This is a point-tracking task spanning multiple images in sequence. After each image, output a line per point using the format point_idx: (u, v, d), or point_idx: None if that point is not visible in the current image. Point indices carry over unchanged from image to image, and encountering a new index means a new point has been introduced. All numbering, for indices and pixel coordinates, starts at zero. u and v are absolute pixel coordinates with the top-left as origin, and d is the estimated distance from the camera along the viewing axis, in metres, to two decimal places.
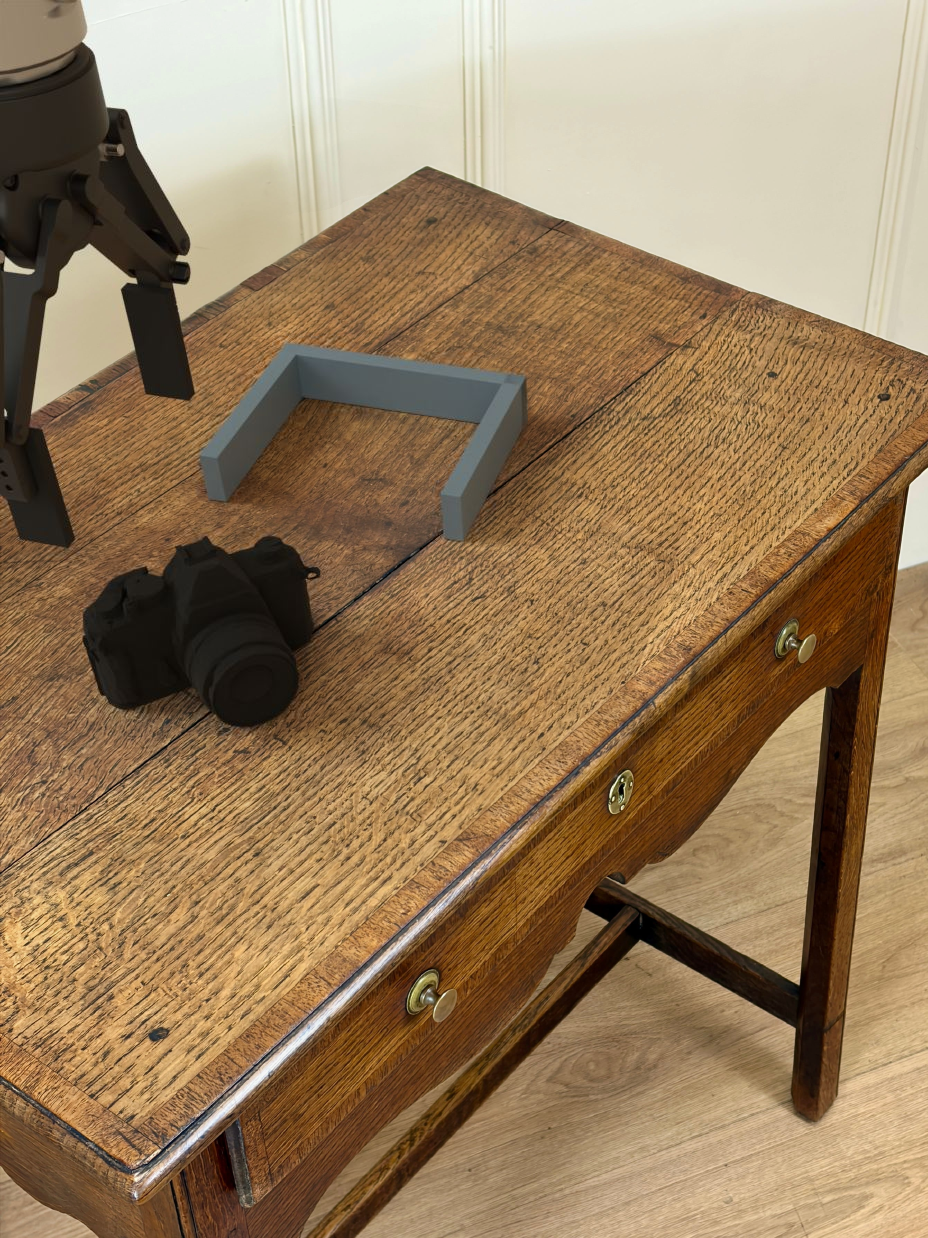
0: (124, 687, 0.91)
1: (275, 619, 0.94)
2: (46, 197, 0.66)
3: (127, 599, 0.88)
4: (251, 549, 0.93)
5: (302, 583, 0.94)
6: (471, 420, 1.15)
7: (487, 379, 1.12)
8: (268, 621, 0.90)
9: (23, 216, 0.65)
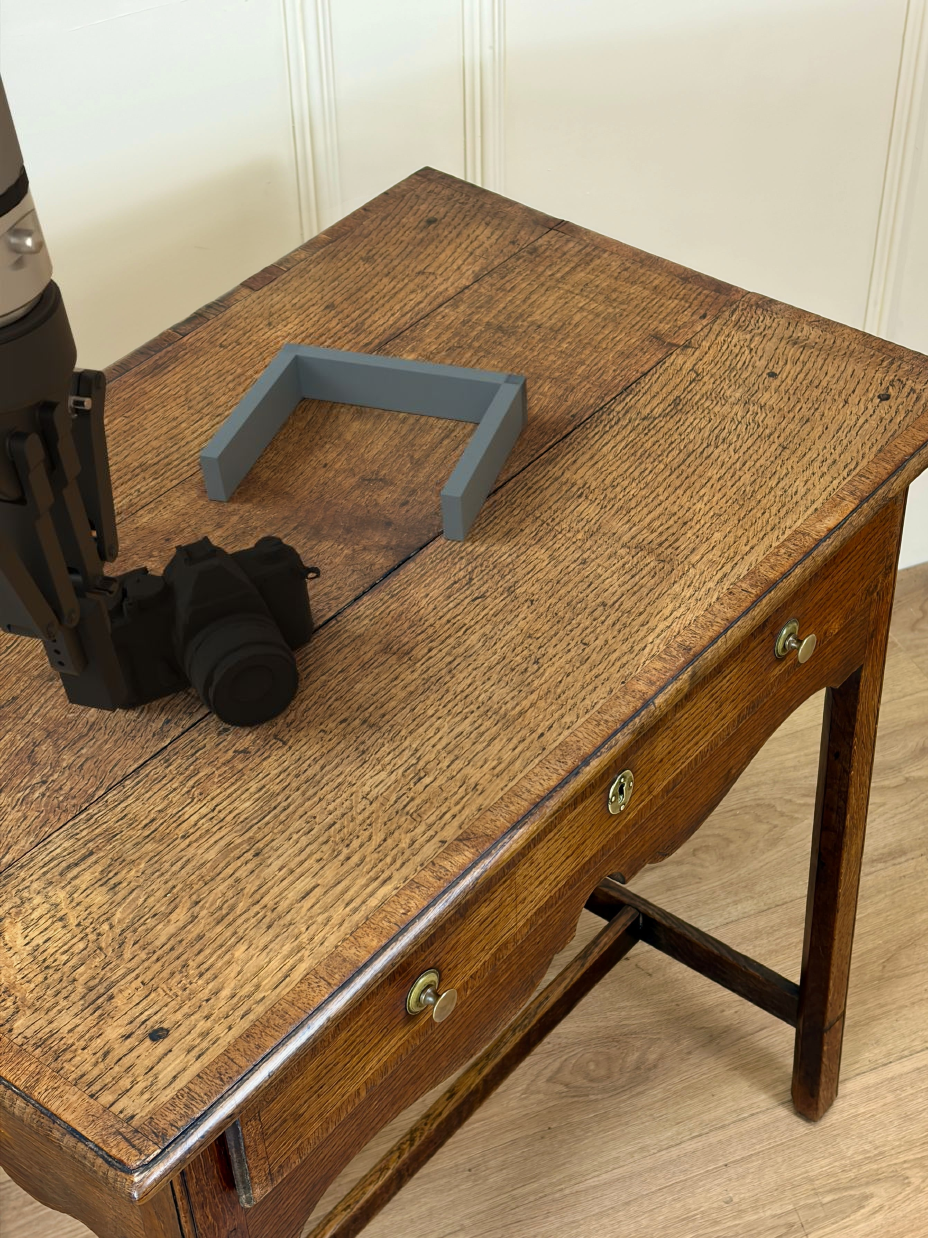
0: None
1: (275, 619, 0.94)
2: (9, 440, 0.64)
3: (127, 599, 0.88)
4: (251, 549, 0.93)
5: (302, 583, 0.94)
6: (471, 420, 1.15)
7: (487, 379, 1.12)
8: (268, 621, 0.90)
9: None
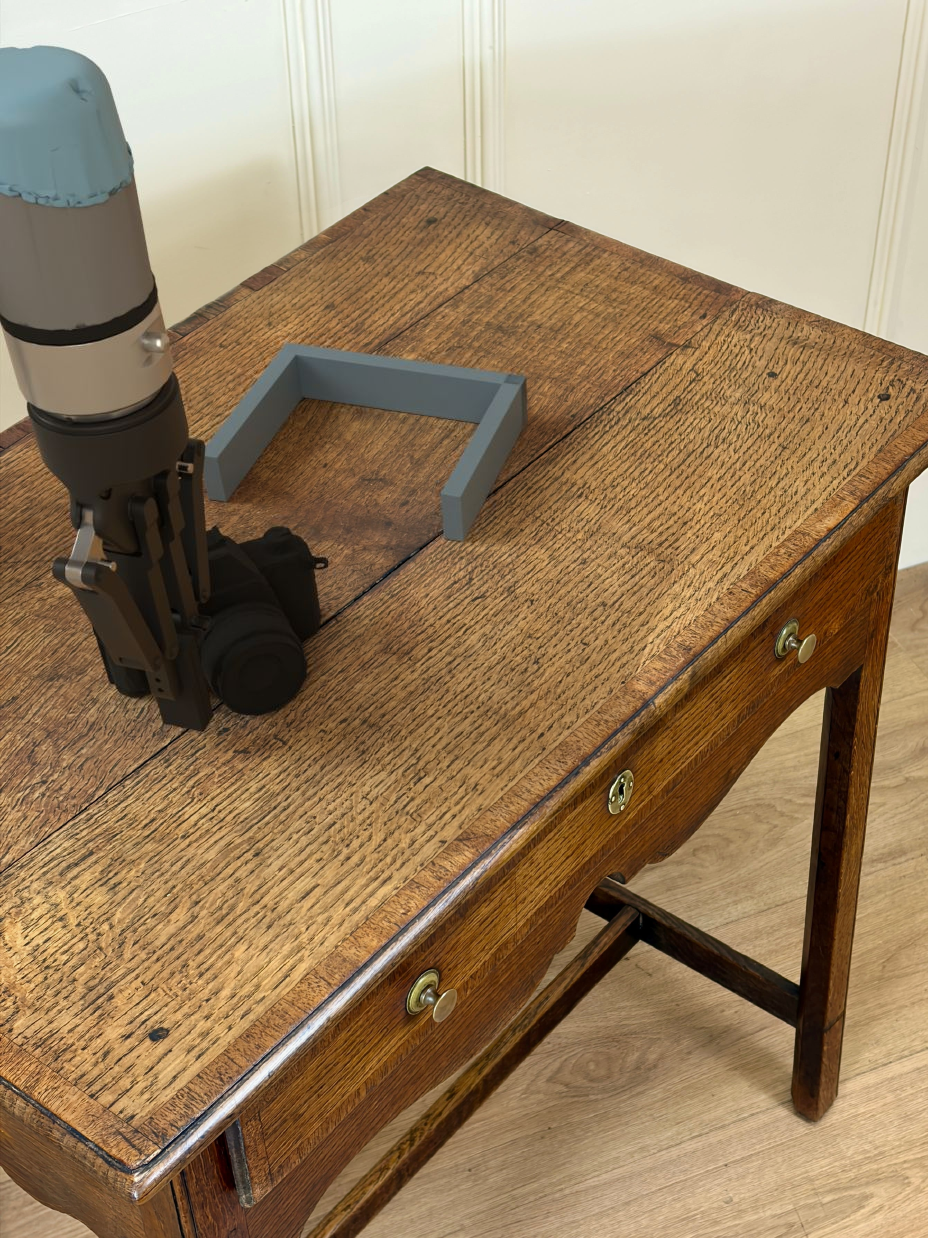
0: (133, 675, 0.91)
1: (283, 609, 0.95)
2: (130, 504, 0.76)
3: None
4: (260, 539, 0.94)
5: (310, 573, 0.94)
6: (471, 420, 1.15)
7: (487, 379, 1.12)
8: (276, 610, 0.91)
9: (115, 517, 0.74)
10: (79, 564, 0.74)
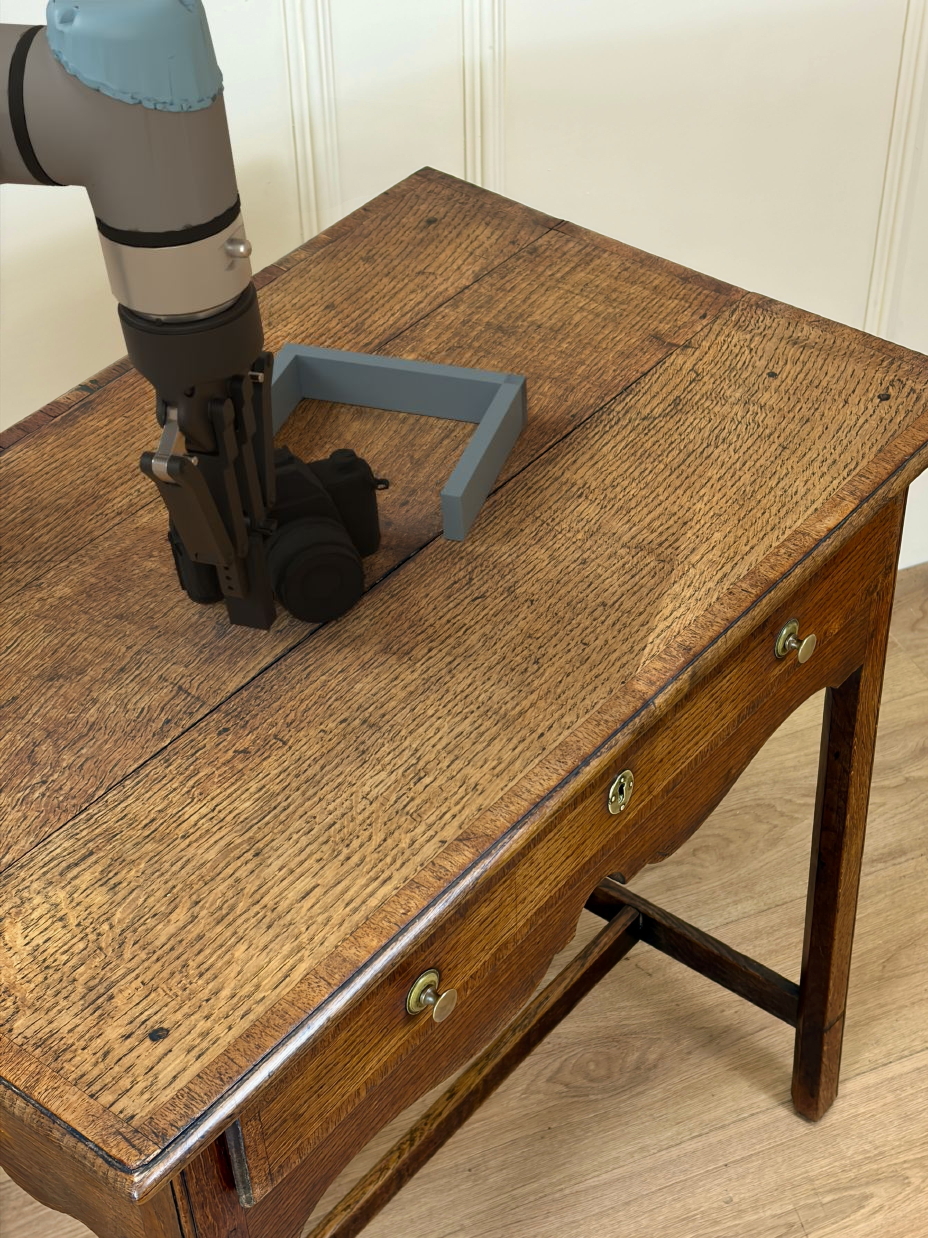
0: (203, 581, 0.98)
1: (345, 527, 1.01)
2: (210, 404, 0.82)
3: None
4: (326, 460, 1.00)
5: (372, 494, 1.00)
6: (471, 420, 1.15)
7: (487, 379, 1.12)
8: (339, 525, 0.97)
9: (197, 415, 0.81)
10: (165, 457, 0.80)
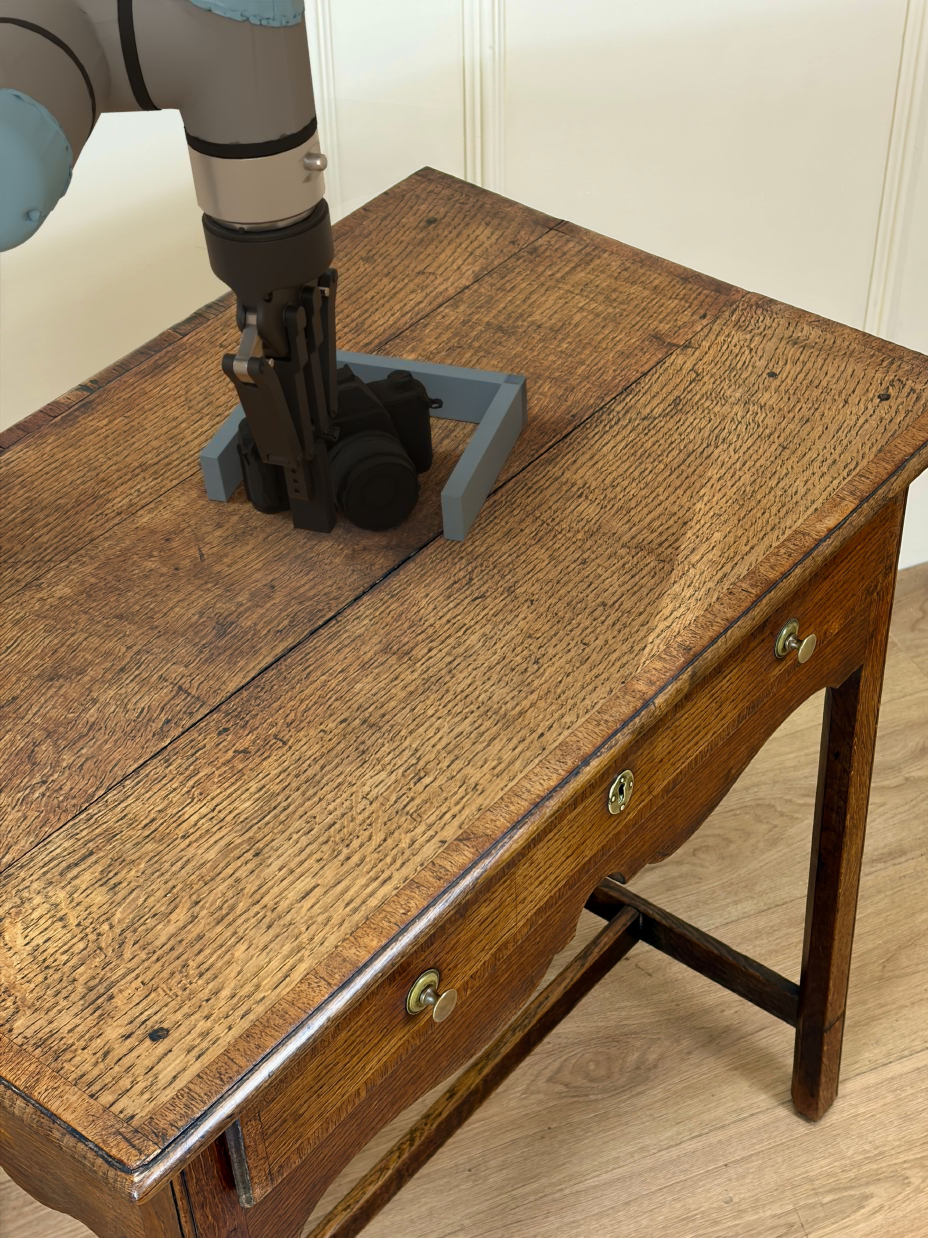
0: (269, 491, 1.05)
1: (401, 444, 1.08)
2: (285, 311, 0.89)
3: None
4: (384, 381, 1.07)
5: (426, 413, 1.07)
6: (471, 420, 1.15)
7: (487, 379, 1.12)
8: (396, 440, 1.04)
9: (274, 320, 0.88)
10: (245, 358, 0.87)
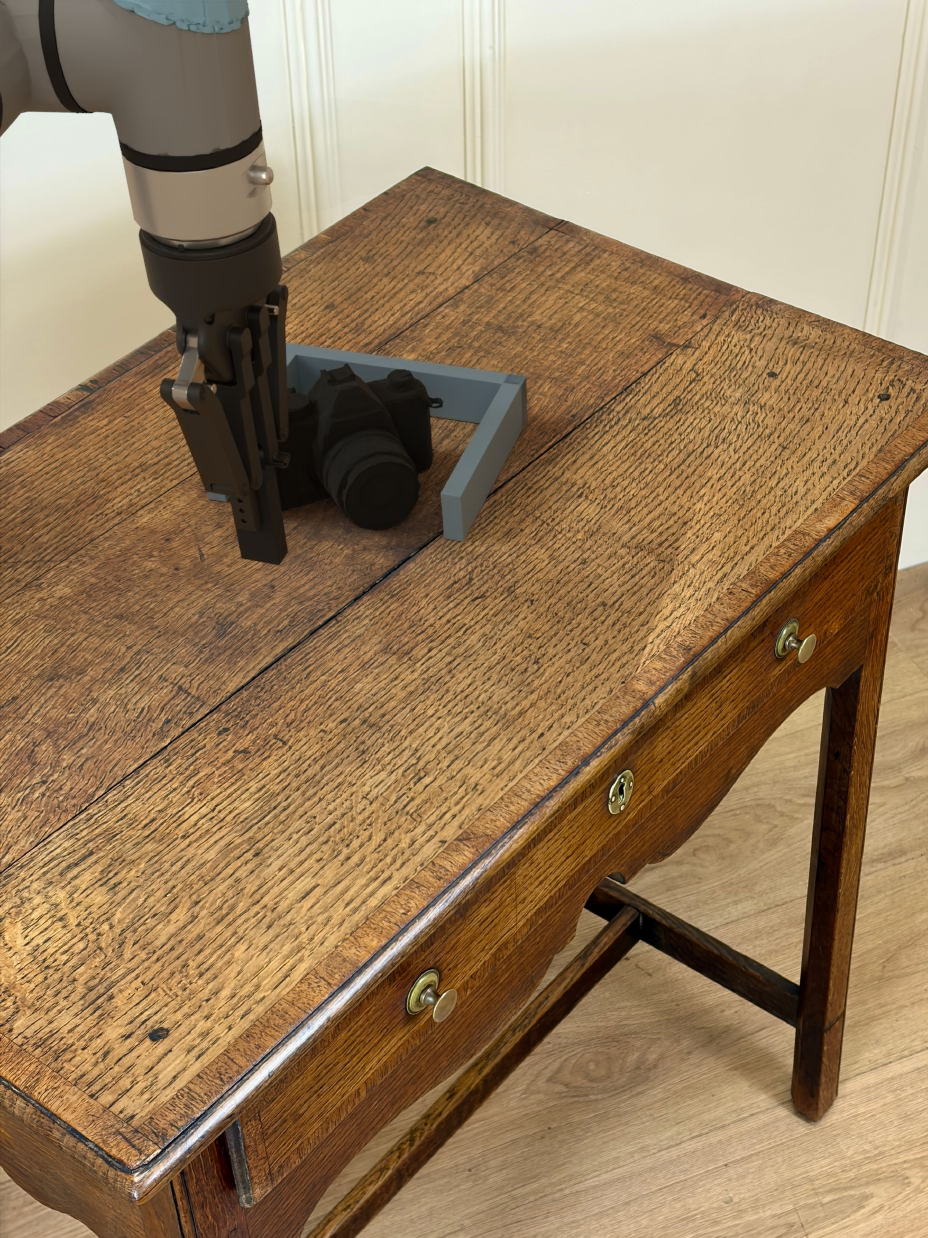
0: None
1: (401, 443, 1.08)
2: (229, 333, 0.83)
3: None
4: (384, 380, 1.07)
5: (426, 412, 1.07)
6: (471, 420, 1.15)
7: (487, 379, 1.12)
8: (396, 439, 1.04)
9: (216, 343, 0.82)
10: (185, 384, 0.81)
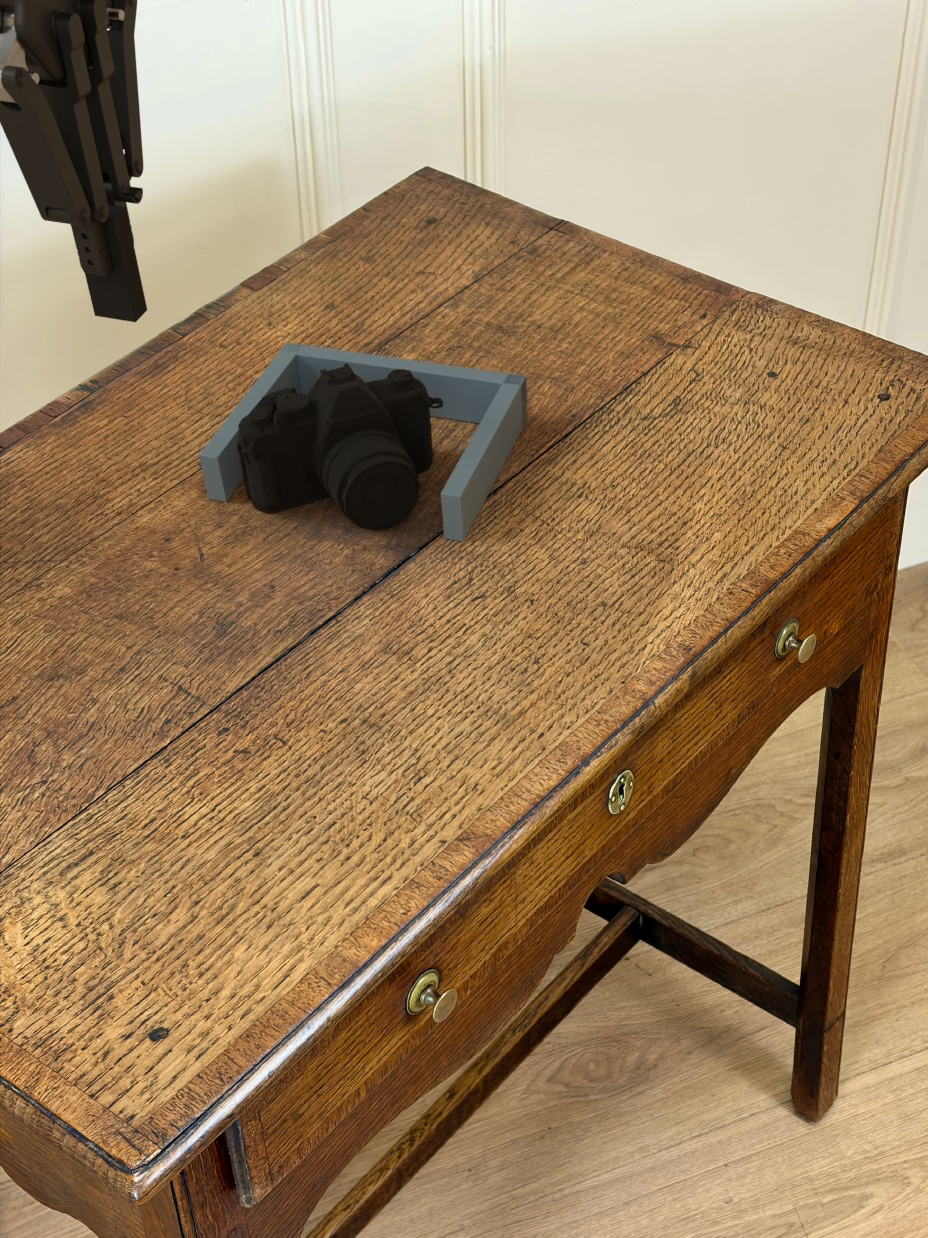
0: (269, 490, 1.05)
1: (401, 443, 1.08)
2: (55, 17, 0.74)
3: (277, 410, 1.03)
4: (384, 380, 1.07)
5: (426, 412, 1.07)
6: (471, 420, 1.15)
7: (487, 379, 1.12)
8: (396, 439, 1.04)
9: (38, 24, 0.73)
10: (0, 66, 0.72)
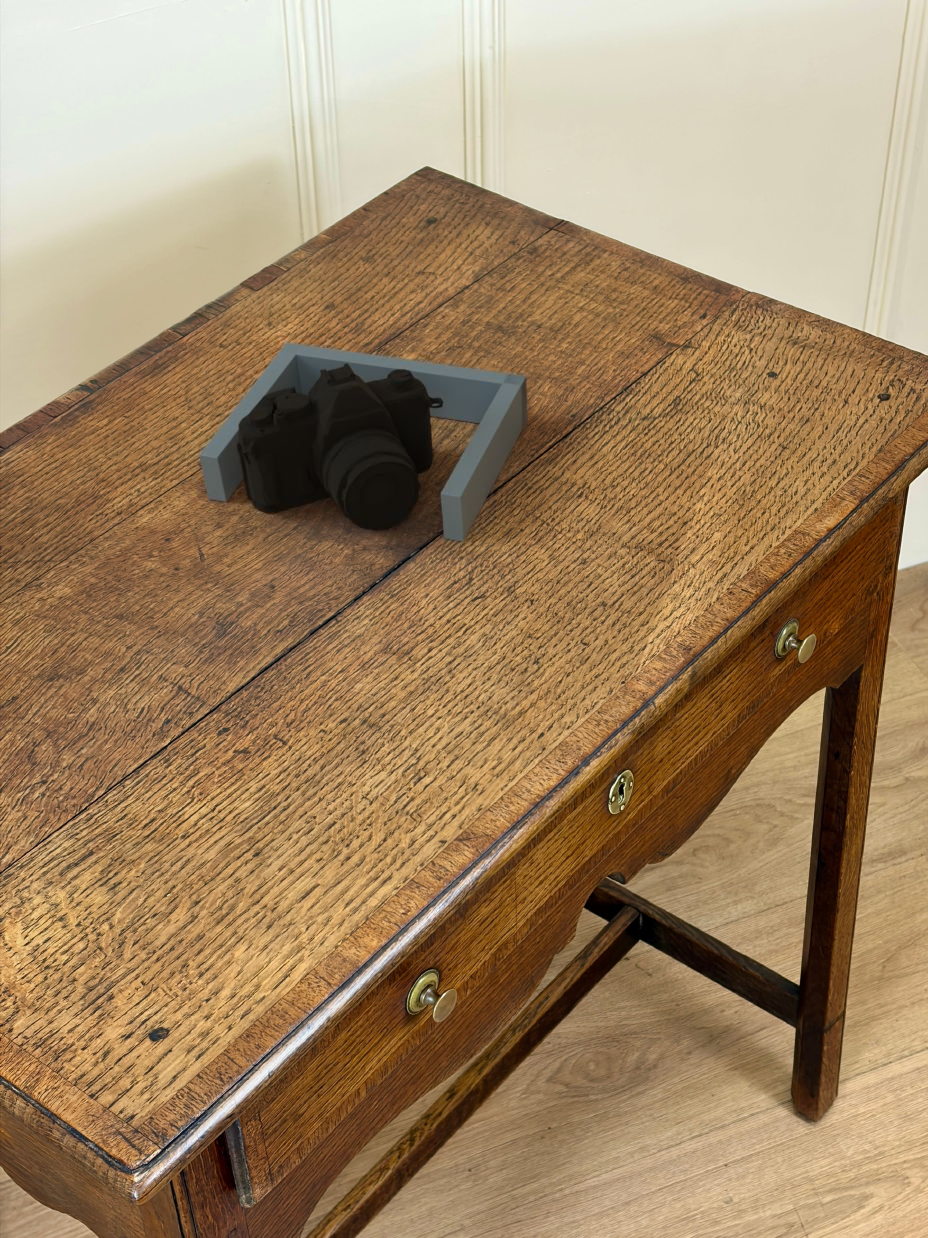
0: (269, 490, 1.05)
1: (401, 443, 1.08)
2: None
3: (277, 410, 1.03)
4: (384, 380, 1.07)
5: (426, 412, 1.07)
6: (471, 420, 1.15)
7: (487, 379, 1.12)
8: (396, 439, 1.04)
9: None
10: None
